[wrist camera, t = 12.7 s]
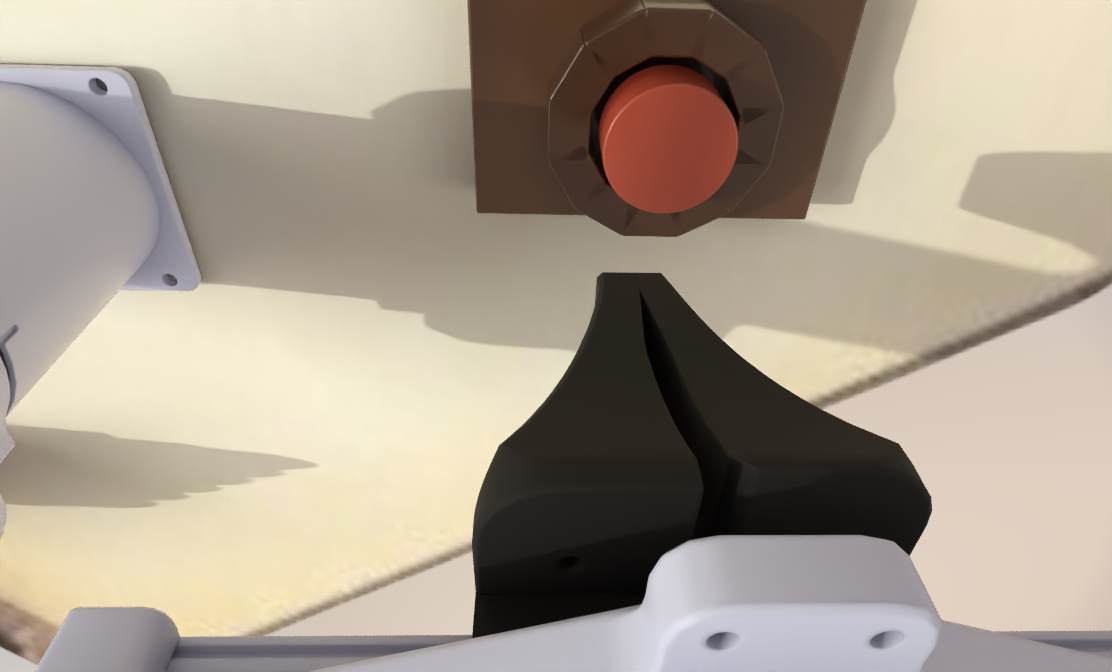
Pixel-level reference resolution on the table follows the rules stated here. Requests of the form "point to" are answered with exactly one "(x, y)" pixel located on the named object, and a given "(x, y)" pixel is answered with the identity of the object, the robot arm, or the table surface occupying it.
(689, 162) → the bell button
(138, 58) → the table surface
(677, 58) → the bell block
